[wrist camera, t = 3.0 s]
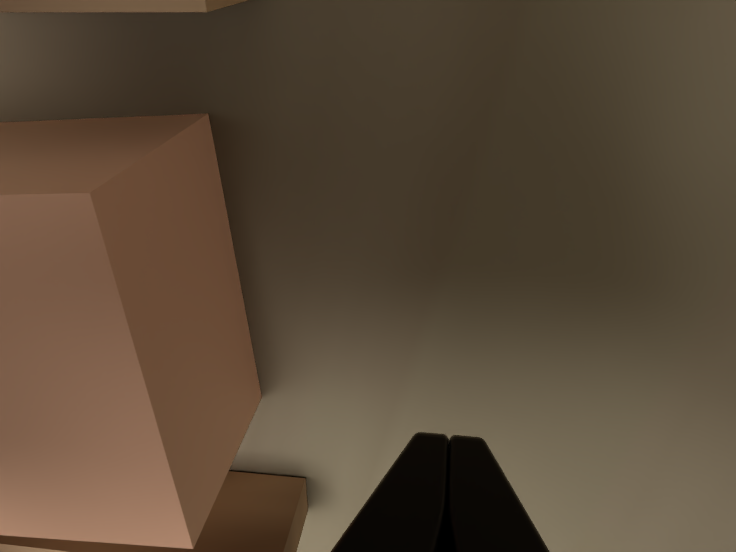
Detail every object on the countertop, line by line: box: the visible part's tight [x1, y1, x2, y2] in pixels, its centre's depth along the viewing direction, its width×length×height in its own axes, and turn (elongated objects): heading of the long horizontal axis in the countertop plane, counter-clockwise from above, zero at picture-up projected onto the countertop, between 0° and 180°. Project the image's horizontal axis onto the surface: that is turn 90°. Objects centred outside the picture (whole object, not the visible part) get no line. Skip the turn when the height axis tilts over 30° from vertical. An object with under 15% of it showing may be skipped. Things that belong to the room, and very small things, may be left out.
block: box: [0, 113, 262, 549], centre depth 11 cm, size 6×6×4 cm
